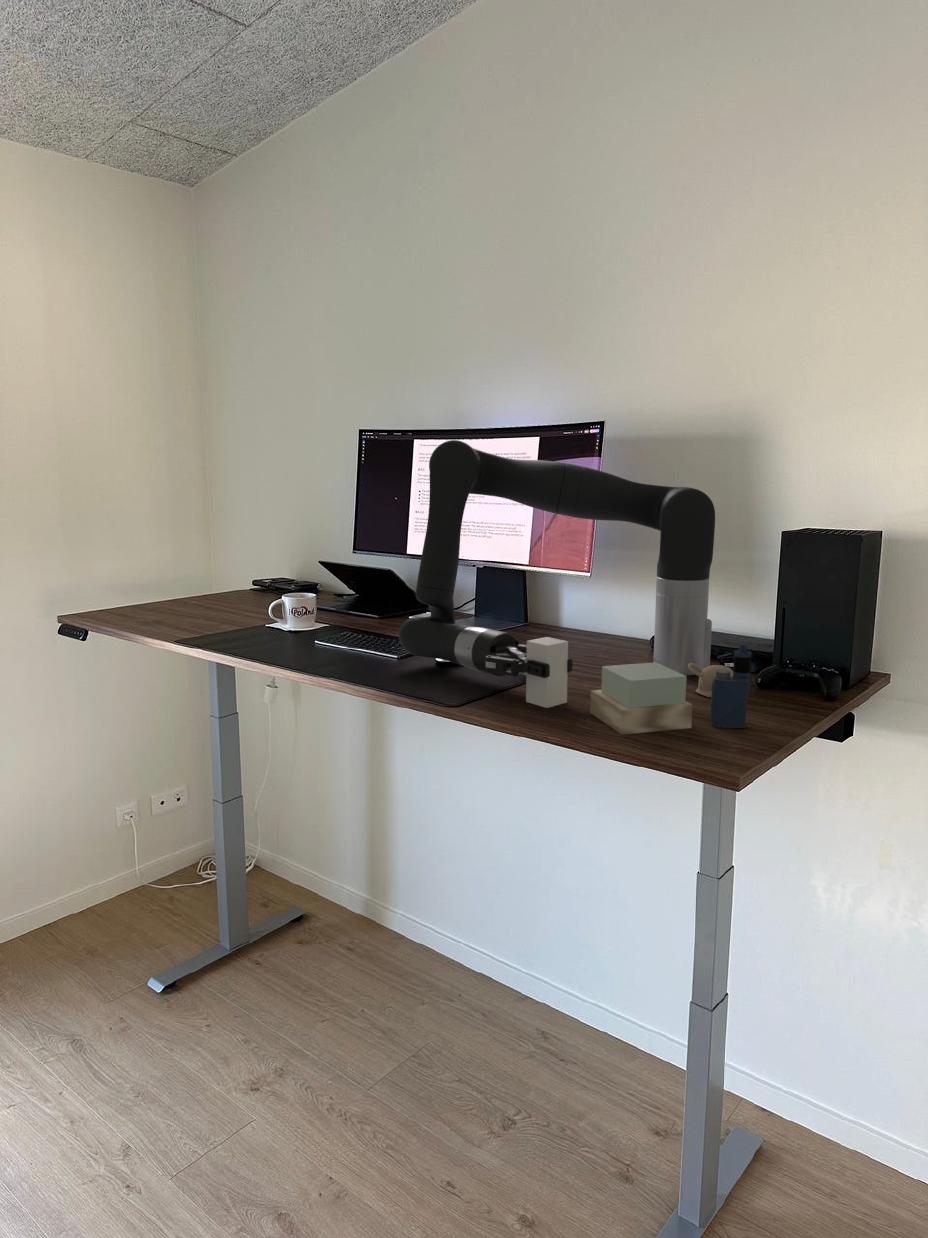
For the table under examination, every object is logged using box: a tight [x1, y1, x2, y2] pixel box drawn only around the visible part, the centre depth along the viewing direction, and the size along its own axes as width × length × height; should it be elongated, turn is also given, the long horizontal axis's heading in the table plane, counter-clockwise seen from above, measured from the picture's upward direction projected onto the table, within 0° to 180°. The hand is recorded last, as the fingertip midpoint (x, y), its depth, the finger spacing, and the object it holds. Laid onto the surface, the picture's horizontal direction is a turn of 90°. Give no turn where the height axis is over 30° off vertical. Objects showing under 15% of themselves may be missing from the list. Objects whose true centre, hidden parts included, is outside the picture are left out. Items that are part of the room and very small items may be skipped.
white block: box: [525, 636, 569, 709], centre depth 135 cm, size 5×5×10 cm
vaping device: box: [709, 644, 752, 729], centre depth 122 cm, size 3×5×12 cm, turn 79°
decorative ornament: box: [688, 663, 733, 698], centre depth 139 cm, size 4×8×5 cm, turn 75°
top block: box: [600, 662, 688, 708], centre depth 125 cm, size 9×9×4 cm
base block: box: [589, 689, 693, 735], centre depth 126 cm, size 11×11×4 cm
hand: (559, 668), depth 133 cm, fingers closed on white block, 4 cm apart
